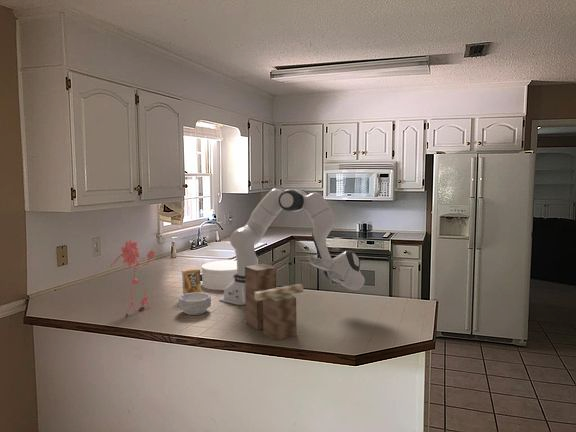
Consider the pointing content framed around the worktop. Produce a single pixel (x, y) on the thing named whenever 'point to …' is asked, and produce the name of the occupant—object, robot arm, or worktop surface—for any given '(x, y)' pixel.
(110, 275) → the worktop surface
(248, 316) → the tall stand
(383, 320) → the worktop surface
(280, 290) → the beech bar
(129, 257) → the pink flowering sprig
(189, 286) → the candy box
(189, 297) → the paper bowls
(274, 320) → the low stand
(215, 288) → the plate stack
